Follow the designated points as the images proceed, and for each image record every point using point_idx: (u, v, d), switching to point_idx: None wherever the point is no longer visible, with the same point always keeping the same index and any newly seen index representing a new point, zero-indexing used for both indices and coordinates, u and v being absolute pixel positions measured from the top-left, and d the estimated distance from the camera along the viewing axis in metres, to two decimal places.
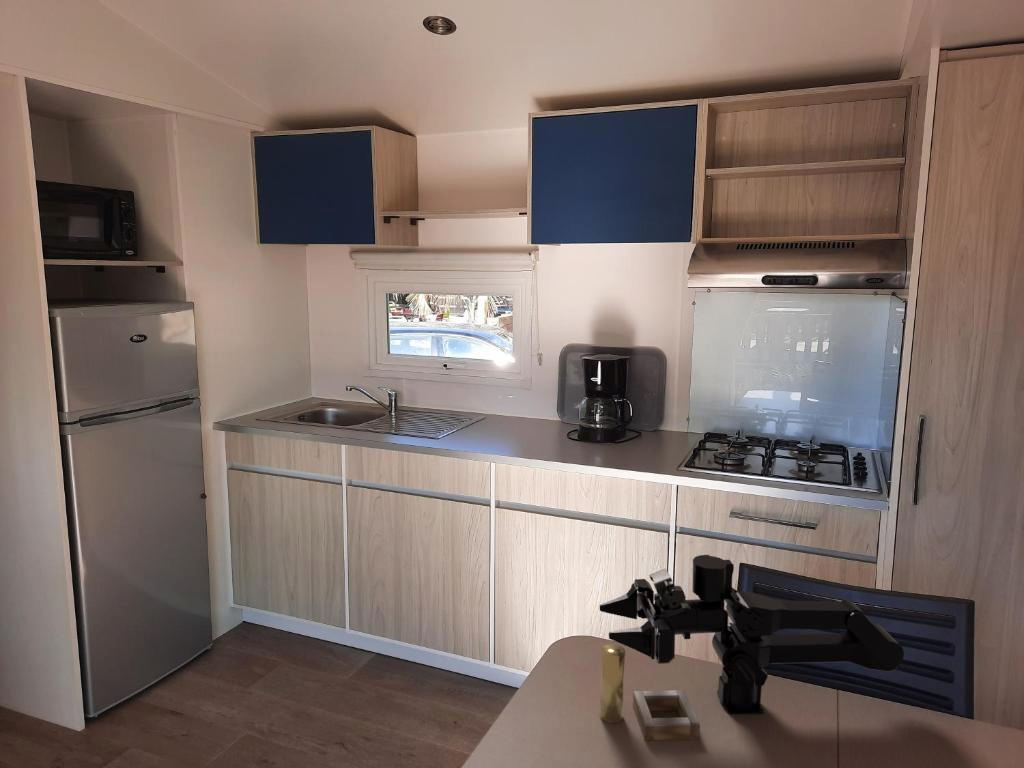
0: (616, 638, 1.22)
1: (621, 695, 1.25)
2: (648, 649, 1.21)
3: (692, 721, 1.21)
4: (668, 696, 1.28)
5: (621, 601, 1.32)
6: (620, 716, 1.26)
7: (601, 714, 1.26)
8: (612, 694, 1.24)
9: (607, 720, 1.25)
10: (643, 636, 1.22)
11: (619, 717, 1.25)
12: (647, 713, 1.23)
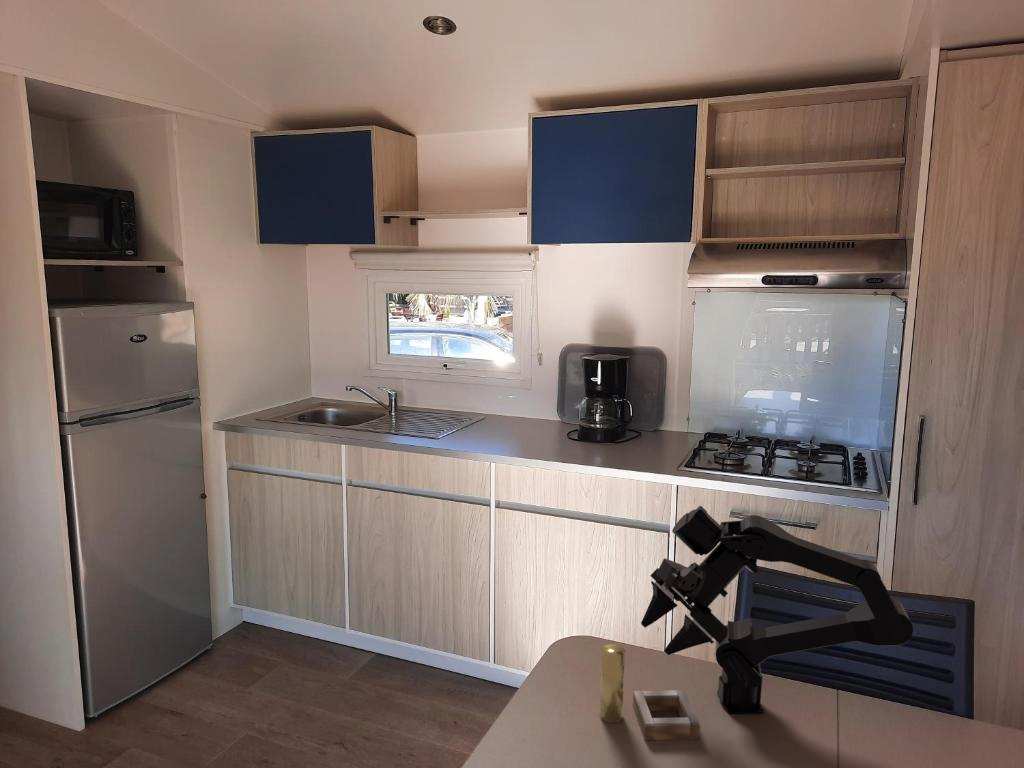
0: (672, 650, 1.22)
1: (621, 695, 1.25)
2: (703, 638, 1.21)
3: (692, 721, 1.21)
4: (668, 696, 1.28)
5: (654, 605, 1.31)
6: (620, 716, 1.26)
7: (601, 714, 1.26)
8: (612, 694, 1.24)
9: (607, 720, 1.25)
10: (691, 631, 1.21)
11: (619, 717, 1.25)
12: (647, 713, 1.23)
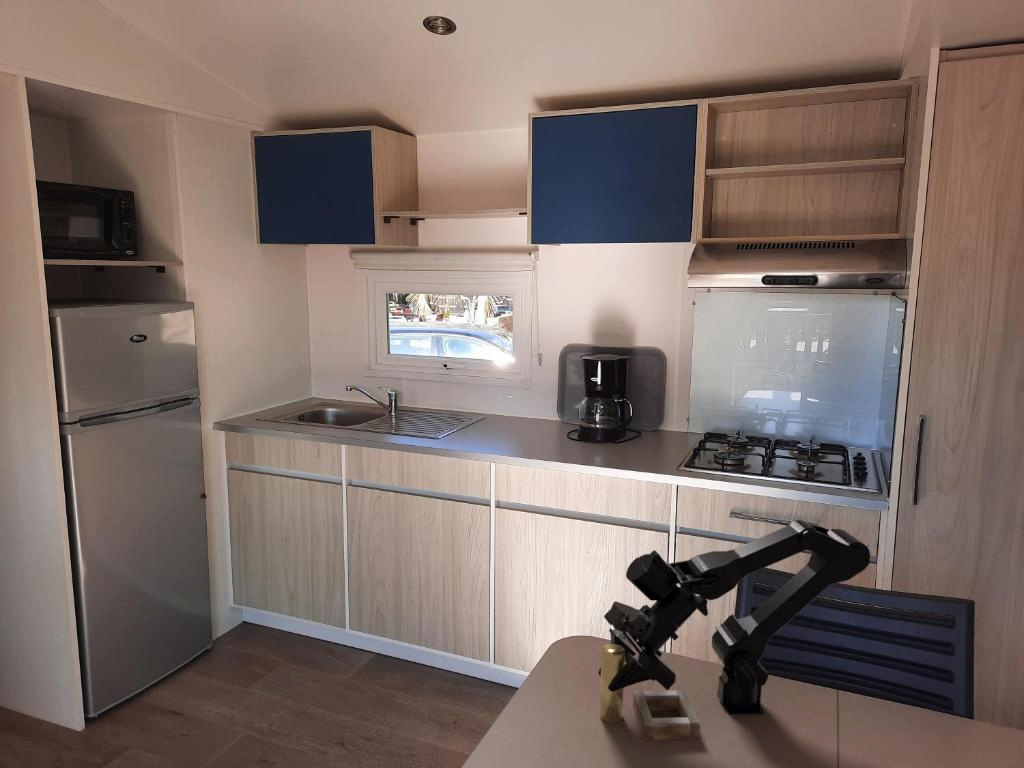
0: (616, 687, 1.23)
1: (621, 695, 1.25)
2: (646, 675, 1.22)
3: (692, 721, 1.21)
4: (668, 696, 1.28)
5: None
6: (620, 716, 1.26)
7: (601, 714, 1.26)
8: (612, 694, 1.24)
9: (607, 720, 1.25)
10: (634, 668, 1.23)
11: (619, 717, 1.25)
12: (647, 713, 1.23)
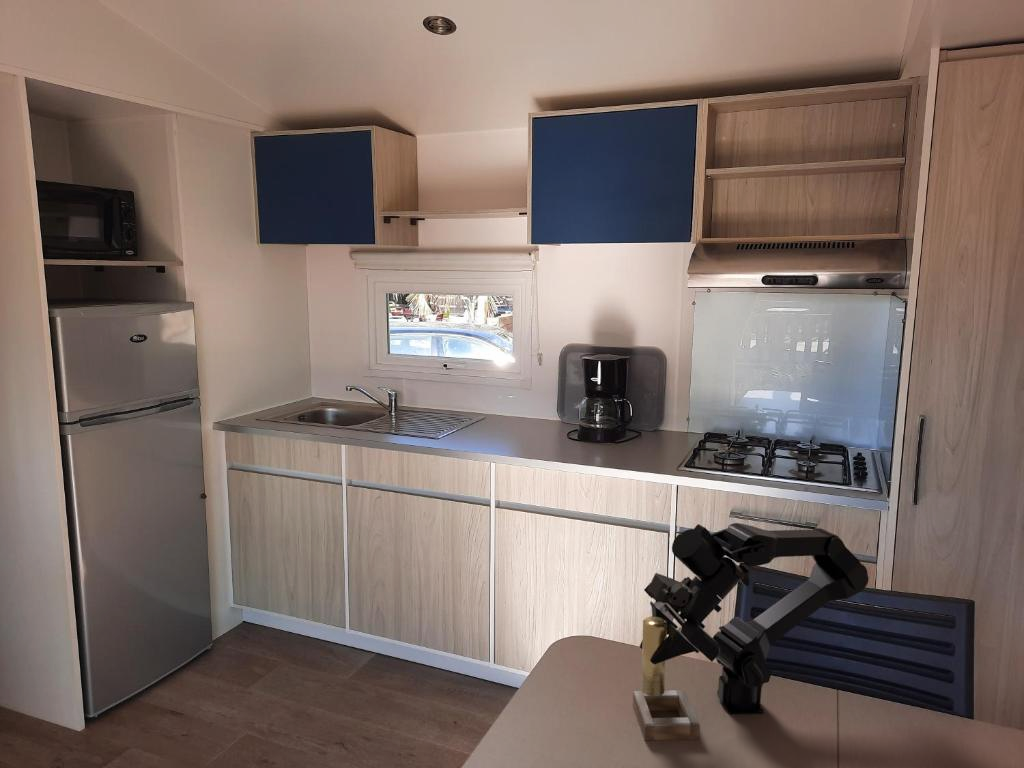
0: (658, 659, 1.21)
1: (663, 668, 1.23)
2: (689, 647, 1.20)
3: (692, 721, 1.21)
4: (668, 696, 1.28)
5: None
6: (662, 689, 1.24)
7: (643, 687, 1.24)
8: (654, 667, 1.22)
9: (649, 693, 1.23)
10: (676, 640, 1.21)
11: (661, 690, 1.24)
12: (647, 713, 1.23)
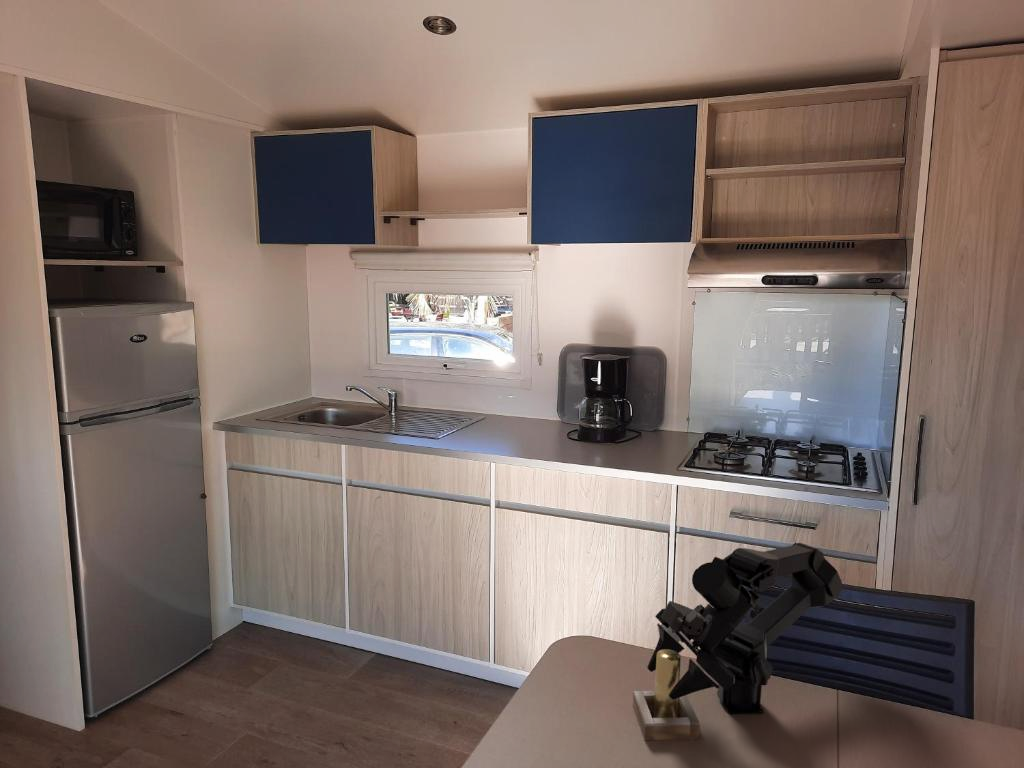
0: (677, 694, 1.20)
1: (676, 701, 1.23)
2: (708, 682, 1.19)
3: (692, 721, 1.21)
4: None
5: (660, 649, 1.28)
6: None
7: None
8: (668, 700, 1.23)
9: None
10: (696, 675, 1.19)
11: None
12: (647, 713, 1.23)
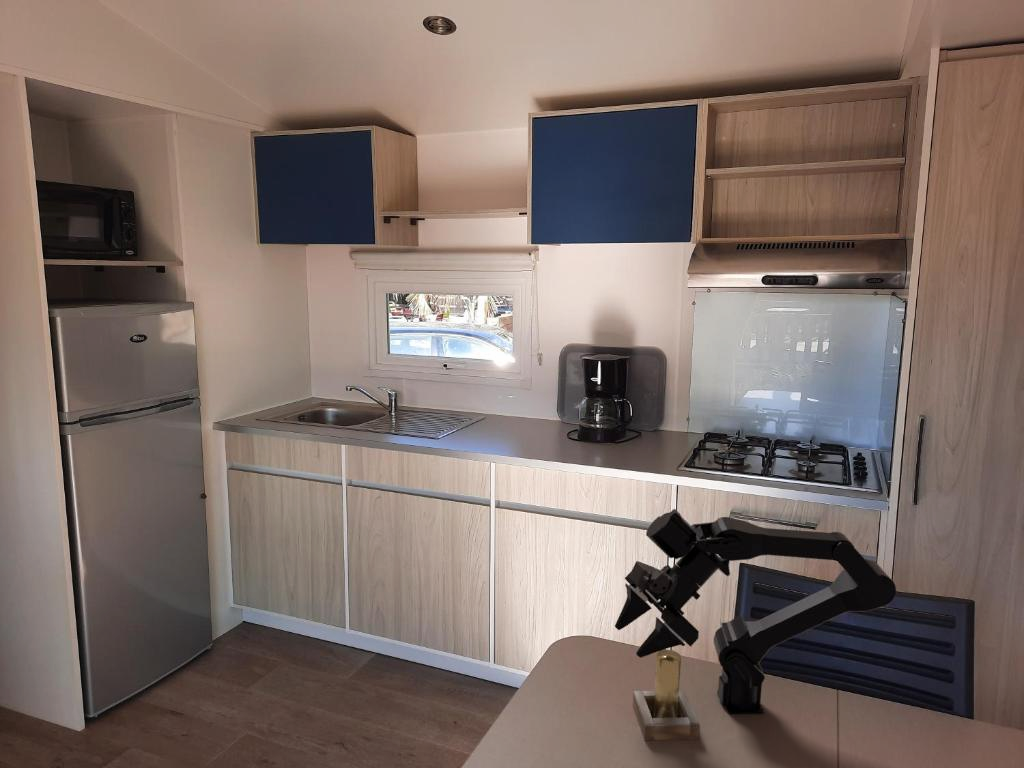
0: (644, 653, 1.22)
1: (676, 701, 1.23)
2: (675, 640, 1.21)
3: (692, 721, 1.21)
4: None
5: (628, 608, 1.31)
6: None
7: None
8: (668, 700, 1.23)
9: None
10: (663, 633, 1.21)
11: None
12: (647, 713, 1.23)
